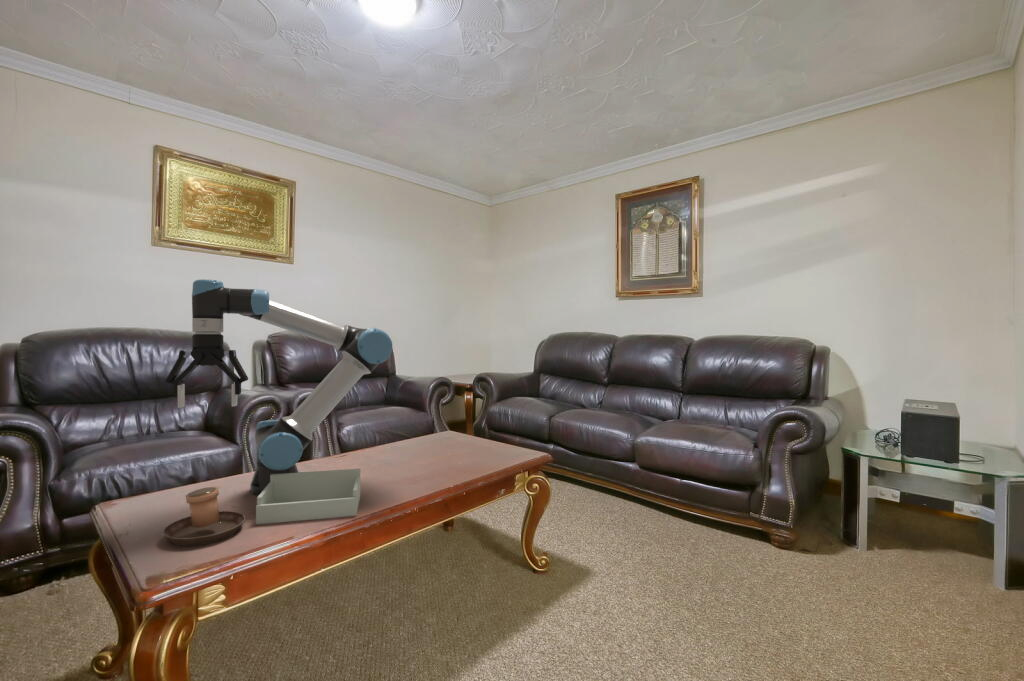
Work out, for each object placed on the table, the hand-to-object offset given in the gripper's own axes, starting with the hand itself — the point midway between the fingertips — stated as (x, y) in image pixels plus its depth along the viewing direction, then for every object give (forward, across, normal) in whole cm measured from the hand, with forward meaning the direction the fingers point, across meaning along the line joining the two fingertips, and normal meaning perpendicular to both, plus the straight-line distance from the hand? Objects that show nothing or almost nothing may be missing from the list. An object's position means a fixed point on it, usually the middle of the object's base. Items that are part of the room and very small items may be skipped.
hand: (208, 406), depth 133 cm
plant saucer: (+31, +5, -16) cm, 35 cm away
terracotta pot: (+28, +5, -16) cm, 32 cm away
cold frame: (+31, +29, -5) cm, 42 cm away
